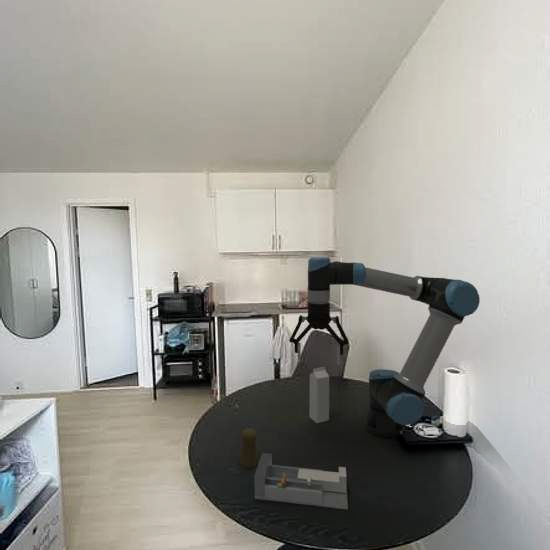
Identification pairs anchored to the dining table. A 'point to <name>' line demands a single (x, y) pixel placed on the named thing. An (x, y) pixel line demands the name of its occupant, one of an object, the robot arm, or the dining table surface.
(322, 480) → the plunger
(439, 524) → the dining table surface
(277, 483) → the brown l-shaped block
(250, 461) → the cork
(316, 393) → the milk
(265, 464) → the gauge housing
